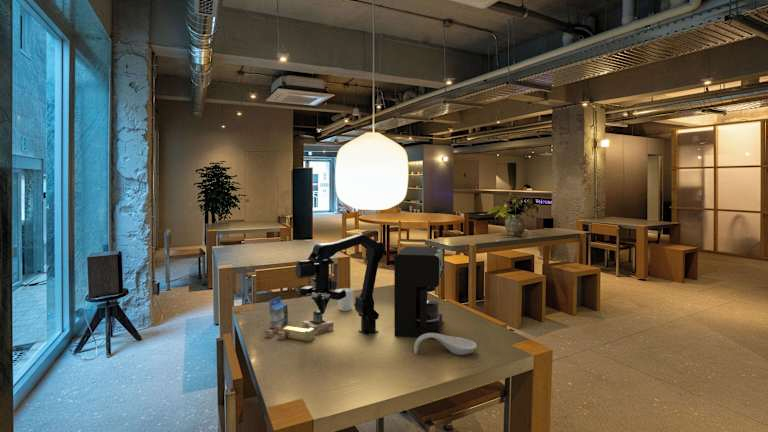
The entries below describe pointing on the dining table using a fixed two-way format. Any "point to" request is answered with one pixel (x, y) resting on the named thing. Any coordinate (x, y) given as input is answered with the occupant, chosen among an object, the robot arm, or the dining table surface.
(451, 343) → the spoon rest
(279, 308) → the label tape box
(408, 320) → the coffee maker
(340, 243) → the robot arm
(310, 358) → the dining table surface
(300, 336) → the tan rectangular block
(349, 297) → the white cup
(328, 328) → the dock block
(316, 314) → the black cylinder
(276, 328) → the pin guide
